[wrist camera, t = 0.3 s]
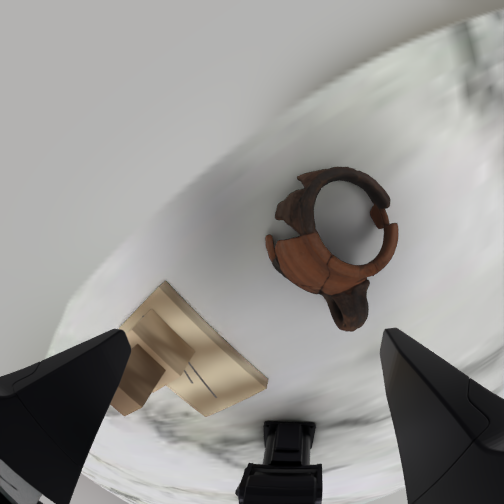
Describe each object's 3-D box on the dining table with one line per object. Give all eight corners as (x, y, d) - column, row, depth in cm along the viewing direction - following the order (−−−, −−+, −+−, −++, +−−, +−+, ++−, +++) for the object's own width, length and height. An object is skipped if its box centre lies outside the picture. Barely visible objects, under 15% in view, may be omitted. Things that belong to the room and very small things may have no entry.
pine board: (268, 379, 28) (266, 388, 26) (209, 408, 31) (205, 417, 29) (165, 280, 26) (158, 286, 24) (119, 328, 29) (113, 334, 28)
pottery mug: (241, 212, 23) (260, 174, 15) (331, 181, 25) (378, 143, 17) (294, 341, 23) (338, 366, 15) (377, 296, 25) (437, 296, 17)
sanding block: (194, 351, 26) (158, 415, 17) (167, 369, 28) (131, 426, 19) (151, 308, 25) (100, 362, 17) (128, 331, 27) (81, 381, 18)
